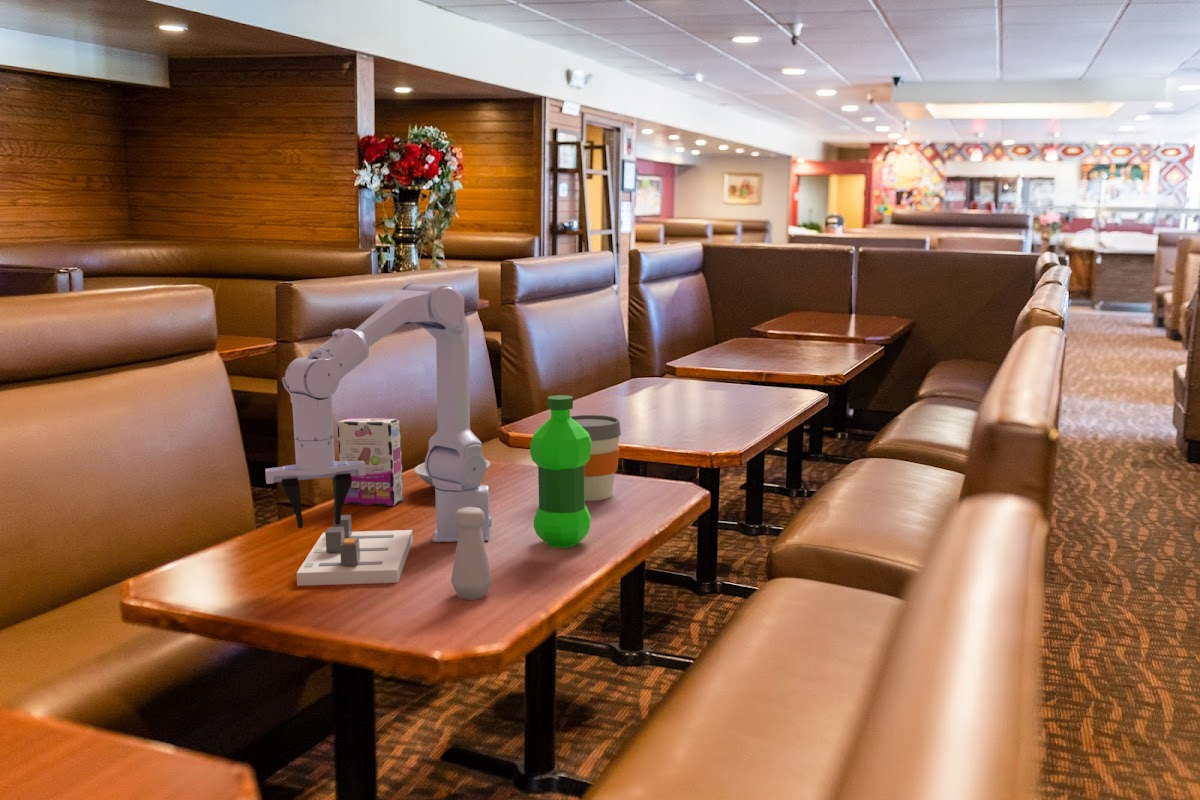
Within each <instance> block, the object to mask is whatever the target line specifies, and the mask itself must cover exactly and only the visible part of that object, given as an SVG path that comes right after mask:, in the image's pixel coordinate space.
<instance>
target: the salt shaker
mask: <svg viewBox="0 0 1200 800" xmlns="http://www.w3.org/2000/svg"><path fill="white" fill-rule="evenodd" d="M454 519H455V524H456V525H457V526H458V527H460V530H459V536H458V541H456V547H455V548H456V550H455V555H454V561H453V567H452V572H451V578H450V581H451V584H452V587H453V588H454V591H455V592H456V594H457V596H458V599H462V600H466V601H472V600H480V599H481V600H482V598H484V597H485V596H487V593H488V591H489V588H490V585H491V584H492V575H491V568H490V564H489V558H488V554H487V549H486V545H485V541H484V539H483V534H482V529H481V525H483V524H484V521H485V515H484V512H483V511H482V510H481V509H480V508H476V507H465V508H461V509H459V510H458V511H457V512H456V513H455V517H454Z"/></svg>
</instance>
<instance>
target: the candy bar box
mask: <svg viewBox="0 0 1200 800" xmlns="http://www.w3.org/2000/svg"><path fill="white" fill-rule="evenodd" d="M337 439H338V440H337V441H338V455H339V457H338V458H339V459H338V461H364V463H365V472H366V475H364V476H358V475H352V476H351V479H352V484H351V487H350V489H349V491H348V493H347V496H346V498H345V501H344V505H354V504H362V505H361V506H380V507H395V506H397V505H398V504H400V503H402V502H403V501H404V481H403V465H402V464H403V462H402V461H403V458H402V440H401V439H402V437H401V419H400V418H384V417H383V418H377V417H375V418H374V417H373V418H372V417H370V418H369V417H346V418H344V419H341V420H339V421H337Z"/></svg>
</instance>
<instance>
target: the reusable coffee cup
mask: <svg viewBox="0 0 1200 800" xmlns="http://www.w3.org/2000/svg"><path fill="white" fill-rule="evenodd" d="M570 417H571V418H572V419H573V420H574V421H576V422H577V423H578V424H579V425H581V426H582V427H583V428H584V429H585V430H586V431H587V432H588V433H589V435H590V438H591V442H592V448H591V454H590V459H589V461H588V462H587V463H586V464H585V465H584V480H585V502H594V501H603V500H606V499H607V500H608V499H609V498H611V497H612V496H613V490H614V483H615V473H616V472H617V471H618V466H619V459H620V449H621V448H620V447H619V442H620V441H619V440H620V436H621V435H622V431H621V424H620V419H619V418H617V417H614V416H610V415H609V416H608V415H602V414H601V415H600V414H599V415H598V414H583V415H582V414H581V415H580V414H579V415H570Z"/></svg>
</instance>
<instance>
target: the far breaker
mask: <svg viewBox="0 0 1200 800" xmlns="http://www.w3.org/2000/svg"><path fill="white" fill-rule="evenodd" d="M332 523H333V527H344V537H345V538H350V536H351V534H352V532H353V528H352V525H353V524H352V515H351V514H341V520H340V524H338V525H336V524H335V522H334V519H333V521H332Z"/></svg>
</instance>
